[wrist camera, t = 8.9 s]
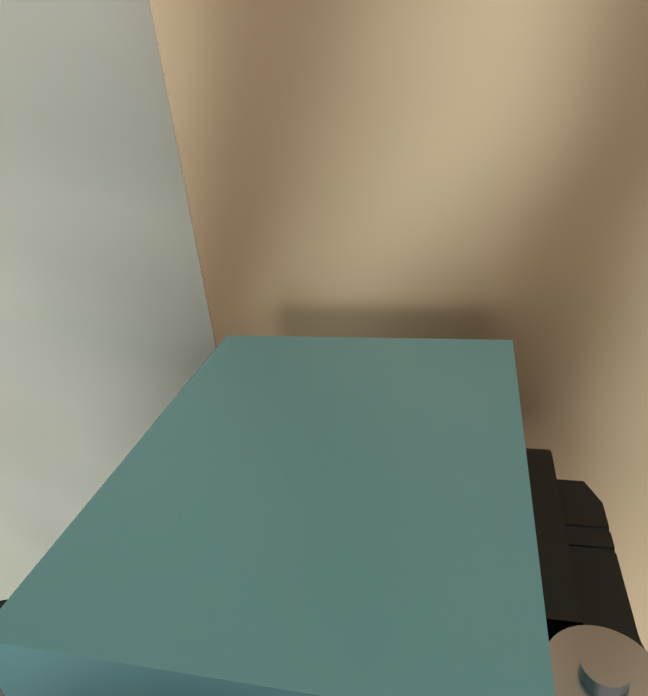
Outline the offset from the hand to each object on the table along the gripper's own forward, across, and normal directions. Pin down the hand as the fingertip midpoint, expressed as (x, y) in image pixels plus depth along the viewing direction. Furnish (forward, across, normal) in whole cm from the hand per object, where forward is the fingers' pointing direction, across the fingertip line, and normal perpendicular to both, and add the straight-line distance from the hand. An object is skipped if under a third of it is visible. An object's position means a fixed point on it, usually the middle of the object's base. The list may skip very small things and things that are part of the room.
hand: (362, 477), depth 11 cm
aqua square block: (+1, 0, 0) cm, 1 cm away
